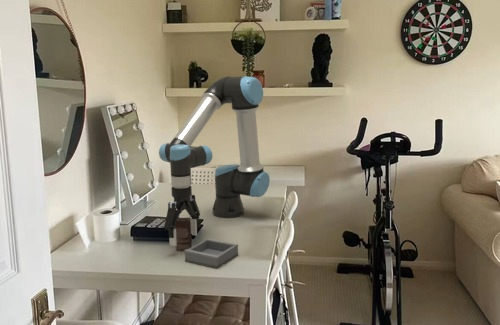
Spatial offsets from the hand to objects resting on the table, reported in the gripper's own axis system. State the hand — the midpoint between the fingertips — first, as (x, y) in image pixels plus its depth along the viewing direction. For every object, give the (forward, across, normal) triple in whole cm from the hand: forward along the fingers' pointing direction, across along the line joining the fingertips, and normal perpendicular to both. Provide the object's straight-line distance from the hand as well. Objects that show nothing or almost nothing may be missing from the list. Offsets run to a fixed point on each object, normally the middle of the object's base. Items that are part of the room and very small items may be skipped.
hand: (183, 240), depth 192 cm
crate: (+3, +3, +15) cm, 16 cm away
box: (+4, 0, 0) cm, 4 cm away
